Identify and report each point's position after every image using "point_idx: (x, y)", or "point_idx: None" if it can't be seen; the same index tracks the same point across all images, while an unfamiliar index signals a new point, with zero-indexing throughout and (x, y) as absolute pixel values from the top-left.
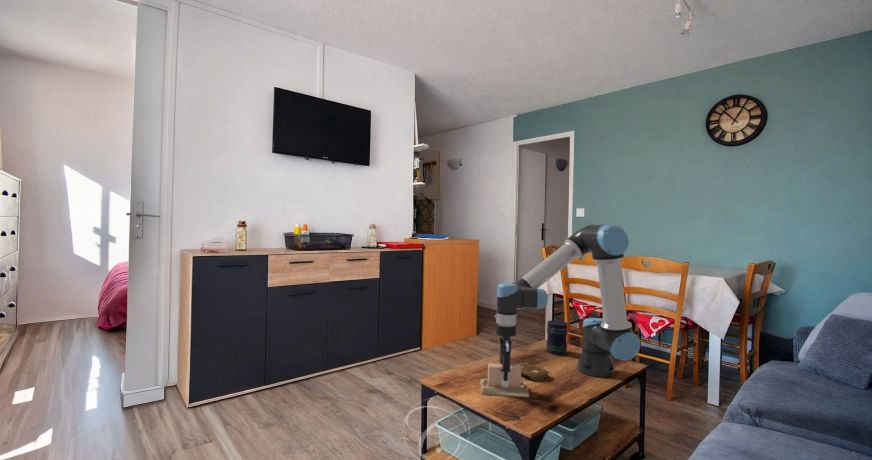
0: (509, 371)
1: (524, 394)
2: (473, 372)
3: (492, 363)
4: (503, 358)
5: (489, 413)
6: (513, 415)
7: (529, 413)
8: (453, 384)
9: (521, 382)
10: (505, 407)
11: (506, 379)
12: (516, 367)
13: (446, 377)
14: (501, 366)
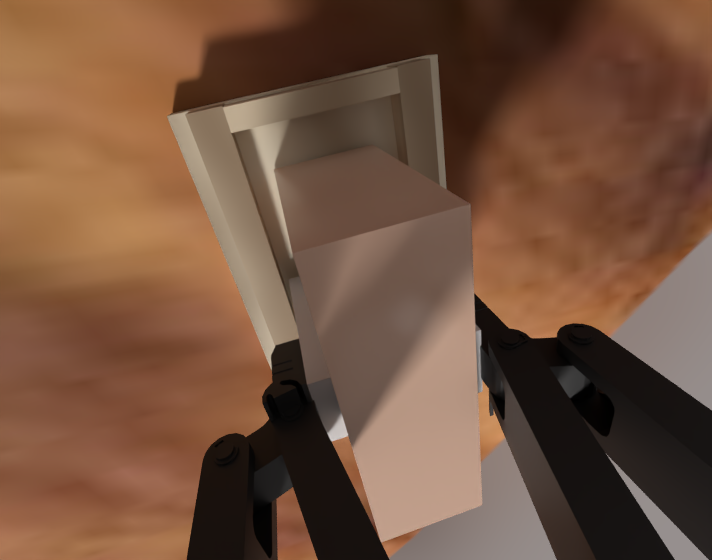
0: (592, 330)
1: (438, 100)
2: (117, 503)
3: (378, 518)
4: (705, 533)
5: (660, 281)
6: (699, 157)
7: (692, 46)
8: (363, 501)
9: (238, 150)
10: (603, 217)
11: (476, 303)
12: (432, 282)
13: (286, 551)
14: (445, 434)
